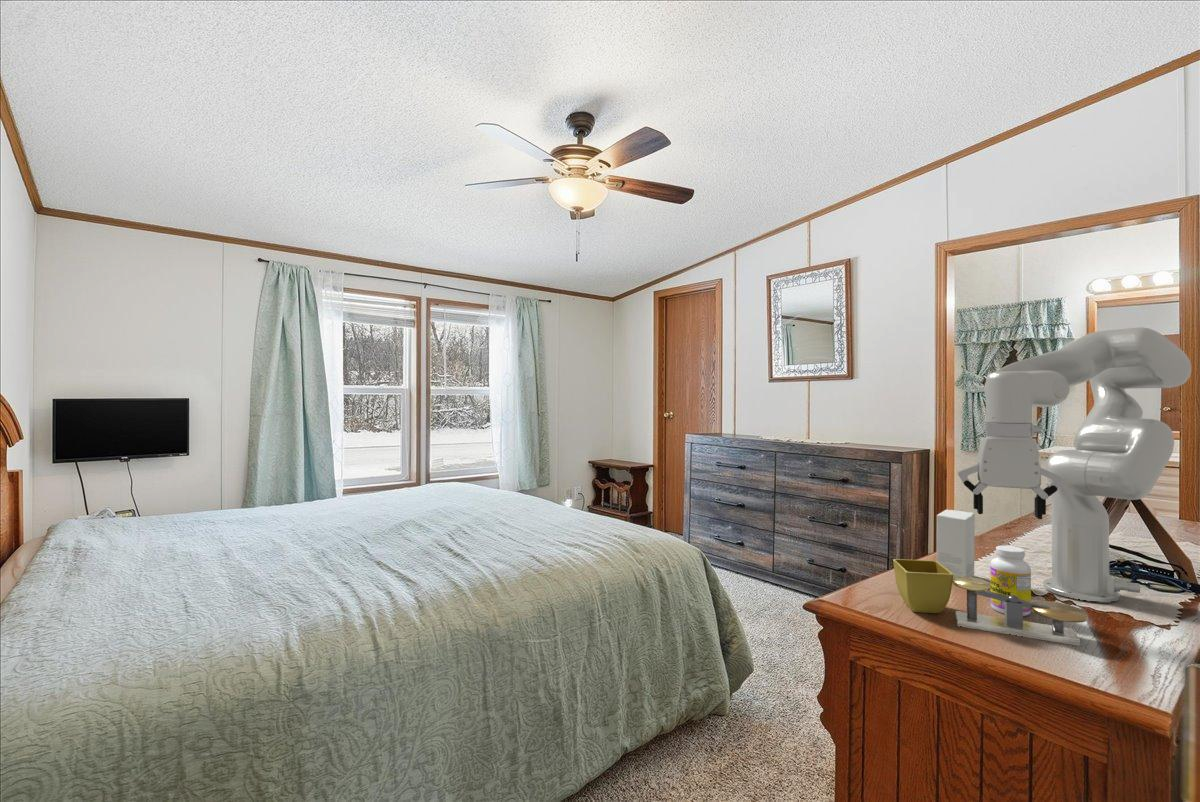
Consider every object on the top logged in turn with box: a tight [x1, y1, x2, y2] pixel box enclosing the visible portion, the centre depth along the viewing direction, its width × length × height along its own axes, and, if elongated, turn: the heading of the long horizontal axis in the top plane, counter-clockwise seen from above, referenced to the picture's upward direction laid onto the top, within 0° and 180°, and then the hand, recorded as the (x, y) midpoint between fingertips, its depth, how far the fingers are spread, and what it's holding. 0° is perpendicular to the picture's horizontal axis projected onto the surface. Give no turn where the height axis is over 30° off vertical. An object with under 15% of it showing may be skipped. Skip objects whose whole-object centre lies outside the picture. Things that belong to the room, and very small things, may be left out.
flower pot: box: [892, 558, 953, 614], centre depth 113 cm, size 9×9×9 cm
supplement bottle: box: [989, 545, 1032, 617], centre depth 111 cm, size 7×7×13 cm
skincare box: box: [936, 508, 976, 578], centre depth 132 cm, size 8×7×16 cm
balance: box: [952, 576, 1088, 647], centre depth 102 cm, size 20×8×8 cm, turn 61°
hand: (1008, 515), depth 111 cm, fingers open, 9 cm apart
